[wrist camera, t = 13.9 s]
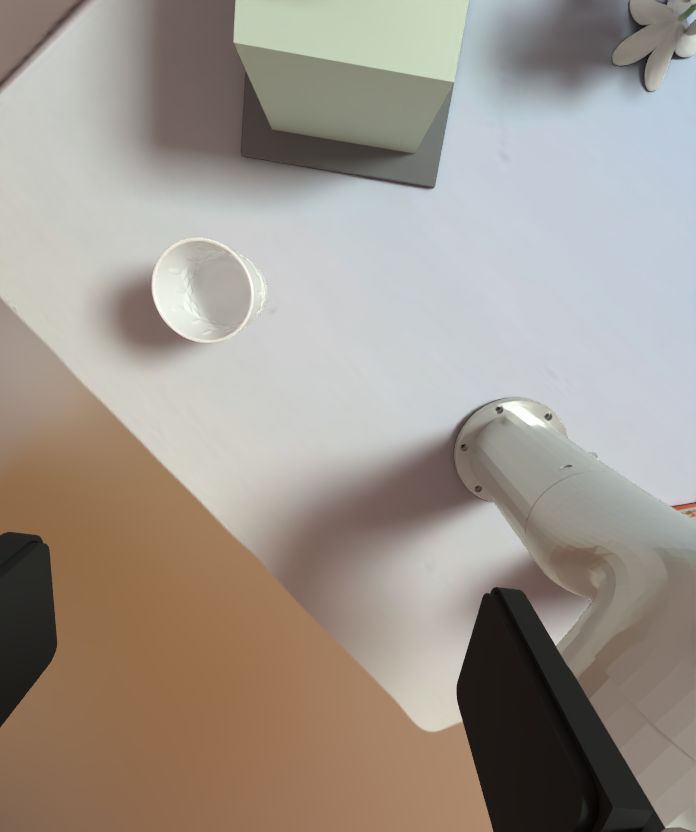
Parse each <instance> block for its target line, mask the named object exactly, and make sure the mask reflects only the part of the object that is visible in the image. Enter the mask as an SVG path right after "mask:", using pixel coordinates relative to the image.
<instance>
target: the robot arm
mask: <svg viewBox="0 0 696 832" xmlns="http://www.w3.org/2000/svg"><path fill="white" fill-rule="evenodd" d="M497 407H498V409H497V410H495V409H496V408H497ZM545 414H546V416H545ZM463 444H464V446H462V447H461V445H463ZM454 460H455V467H456V469H457V472H458V475H459V476H460V478H461V480H462V482H463V483H464V484H465V485H466V487H467V488H468V489H469V490H470V491H471V492H472V493H473V494H475V495H477V496H478V497H480V498H482V499H484V500H487V501H491V502H494V503H495V504H496V506H497V507H498V509H499V510H500V512H501V513H502V514H503V516H504V517H505V519H506V520H507V522H508V523H509V524H510V526H511V527H512V529H513V530H514V532H515V533H516V534H517V536H518V537H519V539H520V540H521V541H522V543H523V544H524V546H525V547H526V549H527V550H528V551H529V553H530V554H531V556H532V557H533V559H534V560H535V561H536V563H537V564H538V566H539V567H540V568H541V570H542V571H543V572H544V573H545V574H546V575H547V576H548V577H549V578H550V579H551V580H552V581H554V582H555V583H556V584H558V585H559V586H561V587H563V588H564V589H566V590H568V591H570V592H572V593H574V594H577V595H580V596H583V597H585V598H589V599H592V600H593V601H592V603H591V604H590V605H589V607H588V608H587V609H586V610H585V611H584V613H583V614H582V615H581V616H580V617H579V620H578V621H577V622H576V624H575V625H574V626H573V627H572V628H571V629H570V631H569V632H568V633H567V634H566V635H565V636H564V637H563V639H562V640H561V641H560V642H559V643H558V644H557V645H556V646H555V644H554V642H553V641H552V639H551V637H550V636H549V634H548V632H547V631H546V629H545V627H544V626H543V624H542V622H541V621H540V619H539V617H538V615H537V614H536V612H535V610H534V609H533V607H532V605H531V604H530V602H529V600H528V599H527V597H526V595H525V594H524V593H523V591H521V590H516V589H507V588H498V587H496V588H493V589H492V591H491V593H490V594H489V593H486V594H485V595H484V596H483V598H482V602H481V605H480V608H479V612H478V615H477V618H476V622H475V625H474V629H473V632H472V635H471V639H470V642H469V645H468V649H467V652H466V655H465V659H464V662H463V666H462V669H461V672H460V676H459V679H458V683H457V701H458V705H459V709H460V713H461V716H462V720H463V723H464V727H465V731H466V734H467V738H468V741H469V745H470V748H471V752H472V756H473V759H474V763H475V767H476V770H477V774H478V777H479V781H480V785H481V788H482V792H483V795H484V799H485V802H486V806H487V809H488V813H489V817H490V820H491V824H492V828H493V831H494V832H696V520H694V519H692V518H690V517H688V516H686V515H684V514H682V513H680V512H679V511H677V510H675V509H674V508H672V507H671V506H669V505H667V504H666V503H664V502H662V501H661V500H659V499H657V498H656V497H654V496H653V495H651V494H649V493H648V492H646V491H645V490H643V489H642V488H640V487H639V486H637V485H636V484H634V483H633V482H631V481H630V480H628V479H627V478H625V477H624V476H623V475H621V474H620V473H618V472H617V471H615V470H614V469H612V468H611V467H609V466H608V465H606V464H605V463H603V462H602V461H600V460H599V459H598V457H597V454H596V453H593V452H587V451H586V450H584V449H583V448H581V447H580V446H578V445H577V444H575V443H574V442H572V441H571V440H569V439H568V436H567V432H566V429H565V427H564V425H563V423H562V421H561V419H560V418H559V417H558V416H557V415H556V413H555V412H553V411H552V410H551V409H549V408H548V407H547V406H545V405H543V404H541V403H539V402H537V401H534V400H531V399H527V398H519V397H517V398H505V399H501V400H497V401H495V402H492V403H490V404H487V405H486V406H484V407H483V408H481V409H479V410H478V411H477V412H475V413H474V414H473V415H472V416H471V417H470V418H469V419H468V420H467V422H466V423H465V424H464V426H463V427H462V429H461V431H460V433H459V435H458V437H457V440H456V444H455V450H454ZM476 486H477V487H476ZM50 565H51V564H50V552H49V547H48V545H47V544H44V543H43V541H42V539H41V537H40V536H37V535H31V534H22V533H14V532H7V533H4V534H2V535H0V727H1V726H2V724H3V723H4V722H5V720H6V719H7V718H8V717H9V715H10V714H11V713H12V711H13V710H14V709H15V708H16V706H17V705H18V704H19V703H20V701H21V700H22V699H23V697H24V696H25V695H26V693H27V692H28V691H29V689H30V688H31V687H32V686H33V684H34V683H35V682H36V681H37V679H38V678H39V677H40V675H41V674H42V673H43V671H44V670H45V669H46V668H47V666H48V665H49V664H50V662H51V661H52V658H53V657H54V654H55V652H56V648H57V636H56V624H55V612H54V600H53V589H52V576H51V566H50Z"/></svg>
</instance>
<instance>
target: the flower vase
mask: <svg viewBox="0 0 696 832" xmlns="http://www.w3.org/2000/svg"><path fill="white" fill-rule="evenodd" d="M690 4H691V6H690ZM695 9H696V0H668V2H667V5H665V4H662V3H659V2H658V1H657V0H630V12H631V14H632V16H633V18H634V20H635V21H636V22H637V23H638V24H640V25H648V26H646V27H645V28H643V29H641V30H639V31H638V32H636V33H634V34H633V35H631V36H629V37H628V38H627V39H625V40H624V41H623V42H622V43H620V45H619V46H618V47H617V48H616V50H615V51H614V53H613V55H612V60H613V63H614V64H616V65H620V66H623V65H629V64H631V63H634V62H636V61H638V60H640V59H642V58H643V57H645V56H646V55H648V54H649V53H650V52H652V51H653V50H654V51H653V52H652V54H651V55H650V57H649V58H648V61H647V64H646V68H645V75H644V78H645V85H646V88H647V89H648V90H649V91H655V90H656V89H658V87H659V86H660V85H661V83H662V82H663V80H664V78H665V75H666V73H667V70H668V67H669V63H670V60H671V57H672V55H673V53H674V51H675V53H676V54H677V55H678V56H680V57H691V56H693V55H695V54H696V20H694V21H693V22H692V23H691V24H690V25H689V24H688V22H687V19H686V18H687V17H688V16H689V15H690V14H691V13H693V12H694V10H695Z"/></svg>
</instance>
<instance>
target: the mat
mask: <svg viewBox="0 0 696 832" xmlns="http://www.w3.org/2000/svg"><path fill="white" fill-rule="evenodd" d="M465 21H466V20H465ZM453 85H454V83H453ZM453 85H452V87H451V89H450V91H449V92H448V94H447V96H446V98H445V100H444V102H443V103H442V105H441V107H440V109H439V111H438V112H437V114H436V116H435V118H434V120H433V121H432V123H431V125H430V127H429V129H428V130H427V132H426V134H425V136H424V138H423V140H422V141H421V143H420V145H419V147H418V149H417V150H416V152H415V154H414V153H408V152H402V151H396V150H390V149H384V148H378V147H372V146H366V145H361V144H355V143H349V142H343V141H337V140H331V139H325V138H319V137H313V136H307V135H302V134H296V133H290V132H284V131H278V130H272V128H271V126H270V124H269V121H268V119H267V117H266V115H265V112H264V110H263V108H262V106H261V103H260V101H259V99H258V97H257V94H256V92H255V90H254V88H253V85H252V83H251V81H250V79H249V76H248V74H247V72H246V74H245V91H244V108H243V126H242V143H241V155H242V156H245V157H251V158H257V159H263V160H269V161H275V162H280V163H286V164H292V165H298V166H304V167H310V168H316V169H322V170H328V171H334V172H340V173H346V174H352V175H358V176H364V177H370V178H376V179H382V180H388V181H394V182H400V183H406V184H412V185H418V186H424V187H430V188H434V187H435V183H436V177H437V172H438V166H439V161H440V156H441V150H442V145H443V139H444V134H445V129H446V123H447V118H448V112H449V107H450V102H451V96H452V91H453Z"/></svg>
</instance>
